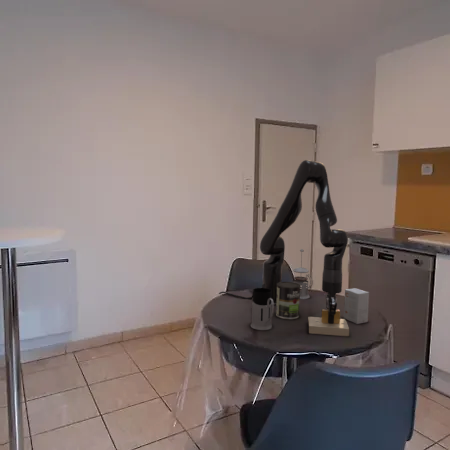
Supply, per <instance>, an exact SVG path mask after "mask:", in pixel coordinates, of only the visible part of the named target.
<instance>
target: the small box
mask: <svg viewBox="0 0 450 450" xmlns="http://www.w3.org/2000/svg"><path fill="white" fill-rule="evenodd" d="M369 303H370V292H369V291H367V290H362V289H360V288H356V287H352V288H346V289H344V303H343V305H344V307H343V319H345V320H346V321H349V322H351V323H353V324H356V325H360V324H365V323H368V321H369V306H370V304H369Z"/></svg>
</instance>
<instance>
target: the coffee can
mask: <svg viewBox="0 0 450 450" xmlns="http://www.w3.org/2000/svg"><path fill="white" fill-rule="evenodd" d="M300 289H301V288H300V284H298V283H294V282H293V281H282V282H279V283H277V303H276V305H275V306H276V307H275V316H276V317H277V318H280V319H284V320H296V319H298V318H299V317H300V300H301V299H300V291H301V290H300Z"/></svg>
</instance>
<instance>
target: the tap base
mask: <svg viewBox="0 0 450 450" xmlns="http://www.w3.org/2000/svg"><path fill="white" fill-rule="evenodd" d="M307 329H308V334H313V335H327V336H341V337H350V327H349V325H348V322H347V319H344V318H340V324H335V323H333V324H329V323H322V322H321V316H320V317H318V316H308V317H307Z"/></svg>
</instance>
